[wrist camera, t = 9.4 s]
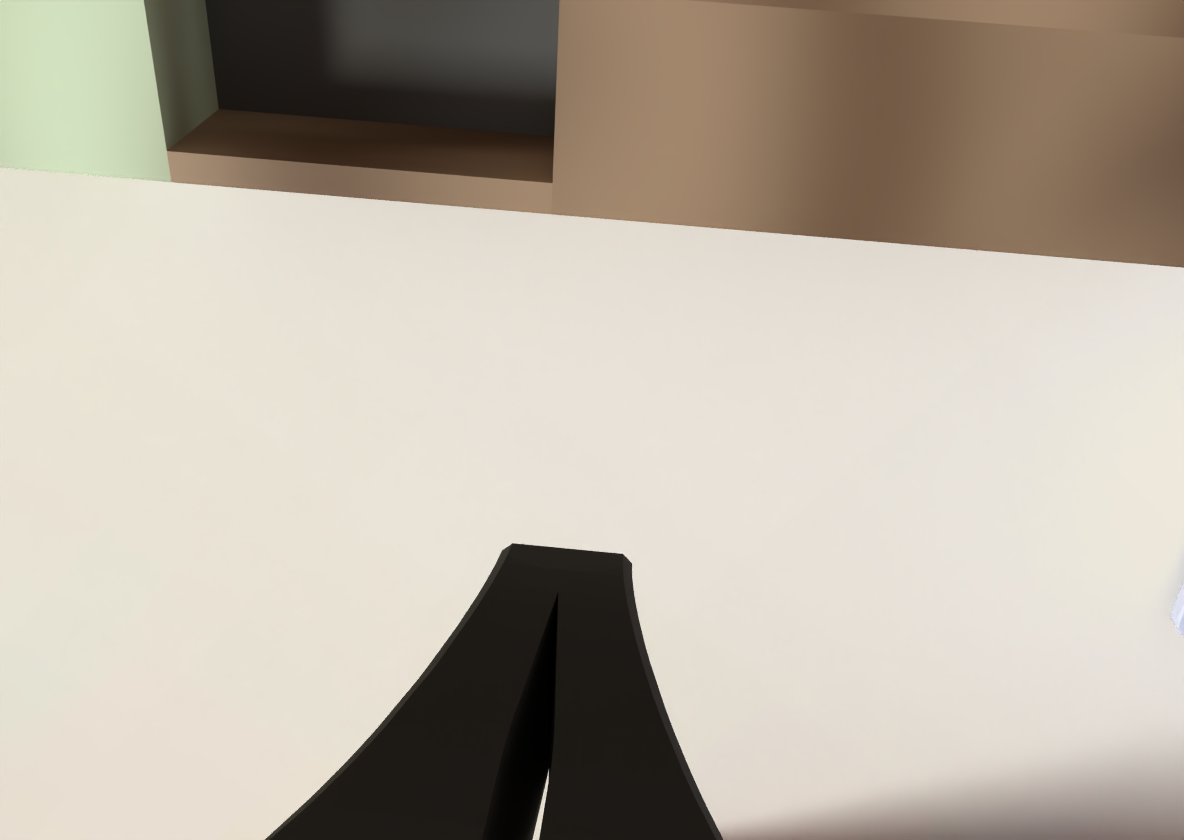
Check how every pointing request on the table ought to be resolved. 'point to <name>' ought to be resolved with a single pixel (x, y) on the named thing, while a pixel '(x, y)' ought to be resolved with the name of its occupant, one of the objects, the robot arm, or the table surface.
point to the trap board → (637, 110)
